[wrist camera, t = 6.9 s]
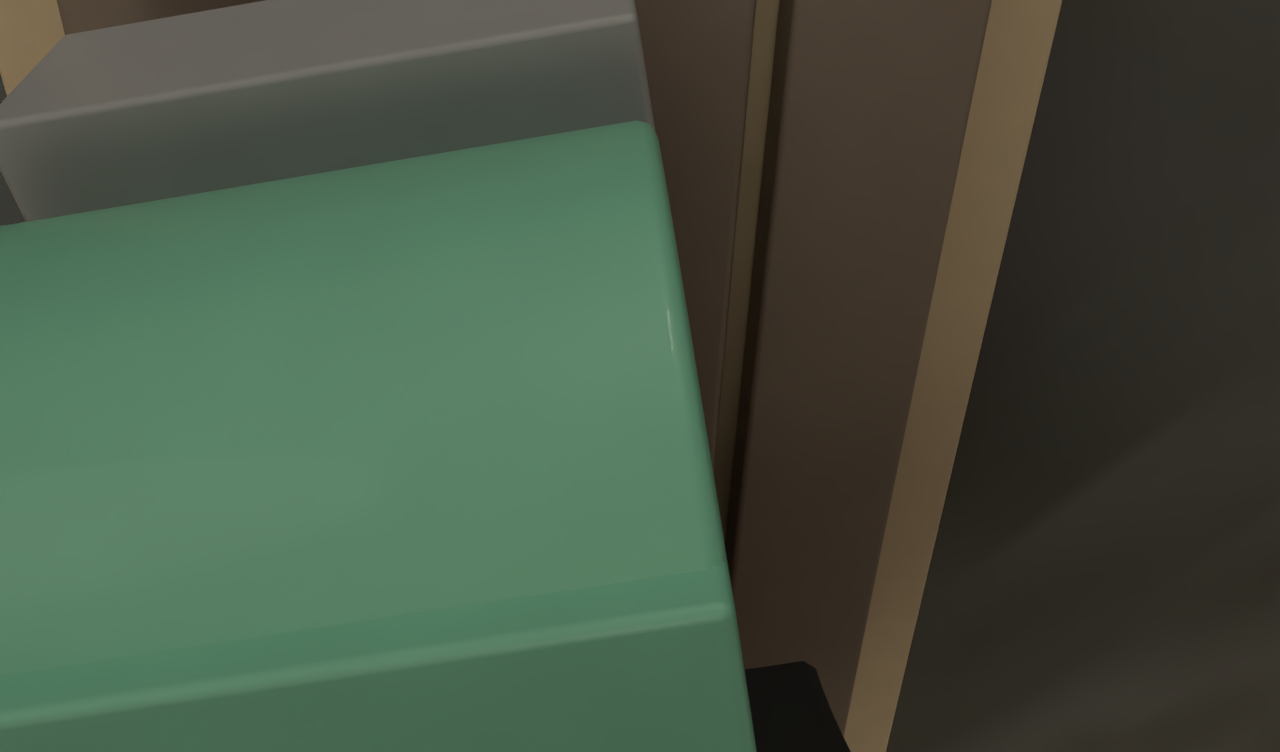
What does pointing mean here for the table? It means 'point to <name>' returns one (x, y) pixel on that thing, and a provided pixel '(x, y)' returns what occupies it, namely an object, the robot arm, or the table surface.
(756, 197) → the brown wooden slab
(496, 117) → the green rectangular block
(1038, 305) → the table surface
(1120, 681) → the table surface
